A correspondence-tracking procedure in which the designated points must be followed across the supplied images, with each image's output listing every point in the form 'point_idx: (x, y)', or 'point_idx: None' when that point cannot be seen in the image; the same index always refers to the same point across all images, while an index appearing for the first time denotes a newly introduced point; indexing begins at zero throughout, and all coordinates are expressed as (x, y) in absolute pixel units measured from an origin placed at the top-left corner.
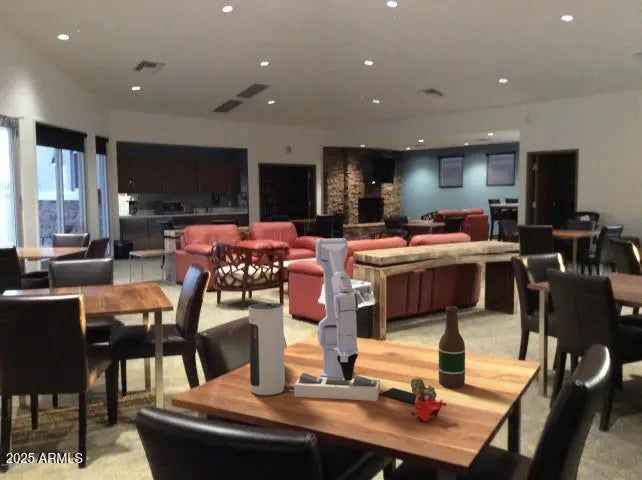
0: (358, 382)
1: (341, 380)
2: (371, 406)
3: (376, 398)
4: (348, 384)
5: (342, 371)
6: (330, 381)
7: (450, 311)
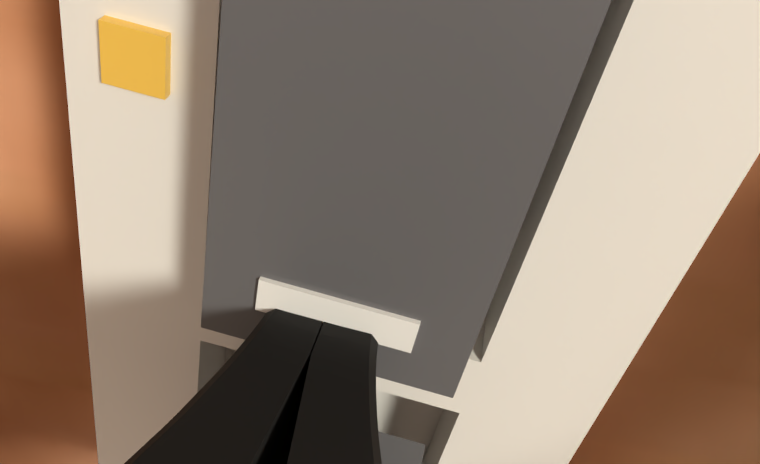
0: None
1: (224, 241)
2: (7, 344)
3: None
4: None
5: (149, 441)
6: None
7: None
